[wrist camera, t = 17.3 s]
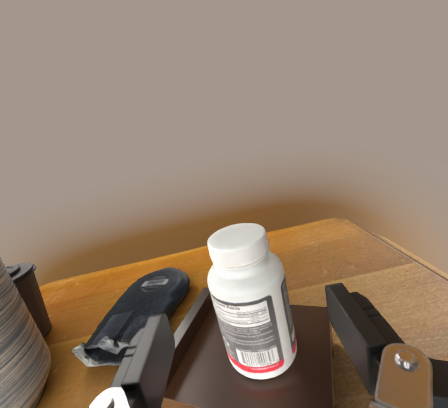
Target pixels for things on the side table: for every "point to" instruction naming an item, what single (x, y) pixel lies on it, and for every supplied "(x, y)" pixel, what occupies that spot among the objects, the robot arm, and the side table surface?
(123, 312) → the electronic device
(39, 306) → the coffee cup
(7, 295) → the vase
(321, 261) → the side table surface
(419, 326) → the side table surface
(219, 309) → the pill bottle
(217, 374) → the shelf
